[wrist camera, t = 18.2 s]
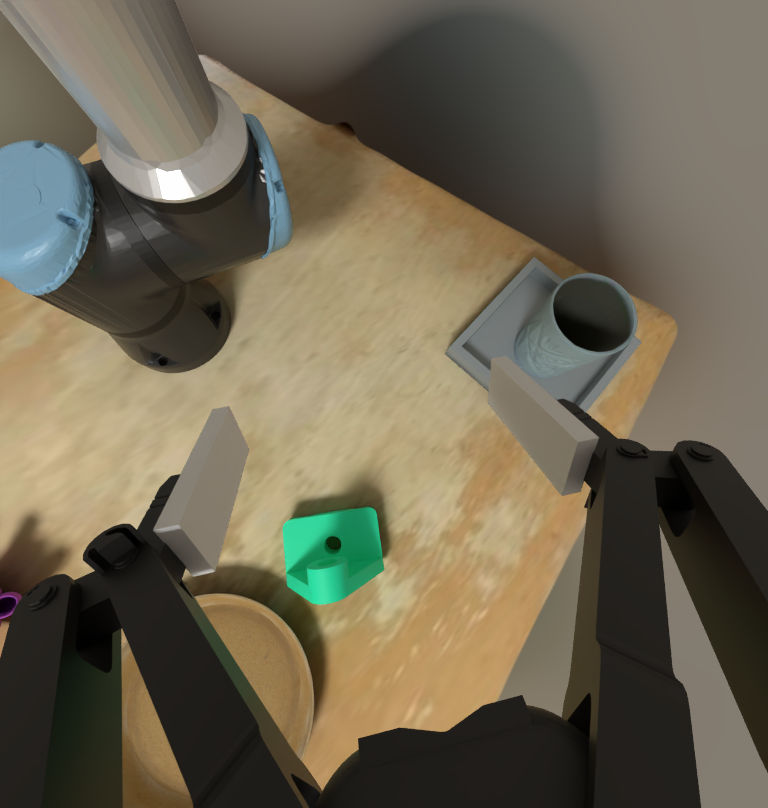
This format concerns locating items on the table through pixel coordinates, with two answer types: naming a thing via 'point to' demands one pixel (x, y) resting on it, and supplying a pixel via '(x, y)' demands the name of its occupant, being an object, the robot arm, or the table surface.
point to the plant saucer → (264, 669)
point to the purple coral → (8, 603)
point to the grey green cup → (576, 326)
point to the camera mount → (332, 553)
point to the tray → (505, 322)
